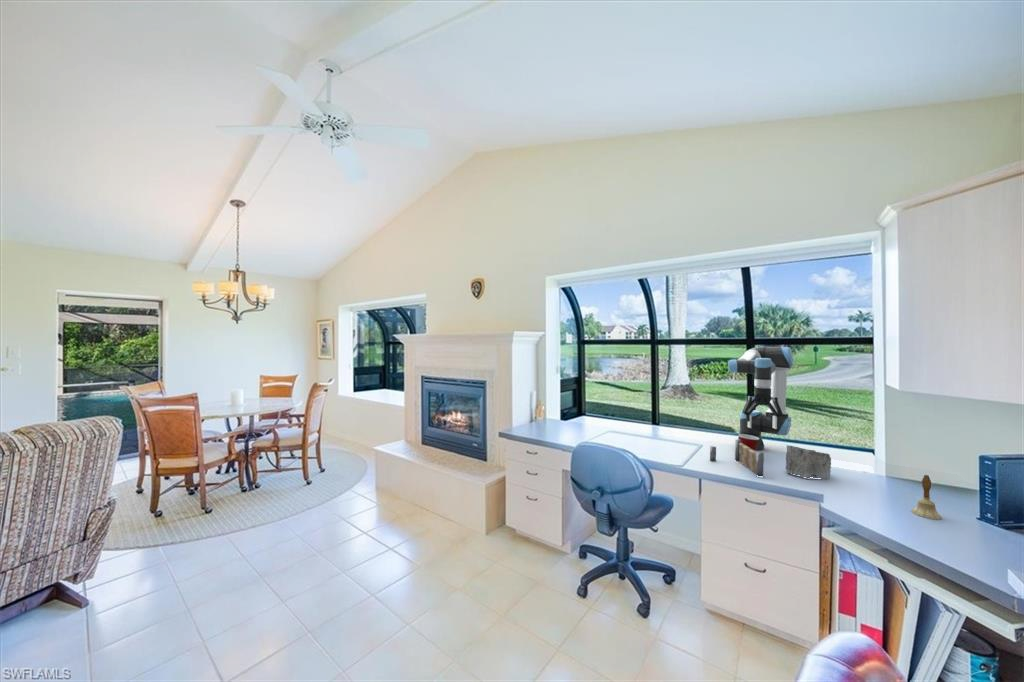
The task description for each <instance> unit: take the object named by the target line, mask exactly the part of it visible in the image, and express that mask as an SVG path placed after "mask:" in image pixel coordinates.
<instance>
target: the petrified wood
mask: <svg viewBox="0 0 1024 682" xmlns="http://www.w3.org/2000/svg"><path fill="white" fill-rule="evenodd" d="M785 460H786V462H785V464H786V465H785V472H786V473H787V472H788V473H792V474H795V475H800V476H802V477H806V478H810V477H813V478H821V479H820V480H830V477H831V469H832V466H831V465H832V458H831V456H830V453H828V452H827V453H825V452H821V451H816V450H814V449H807V448H803V447H799V446H793V445H789V444H787V445H786V453H785ZM788 473H787V474H788ZM792 474H791V475H792ZM795 475H794V476H795ZM802 477H801V478H802Z"/></svg>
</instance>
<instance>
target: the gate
mask: <svg viewBox="0 0 1024 682" xmlns="http://www.w3.org/2000/svg"><path fill="white" fill-rule="evenodd" d="M739 461H740V462H739V463H742V464H743V466H745V467H747V468H748V469H749V470H751V471H752V472H753V473H755V474H756V462H757V450H755V451H754V450H752V449H751V448H749V447H747V446H746V445H744V444H743V443H739Z"/></svg>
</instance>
